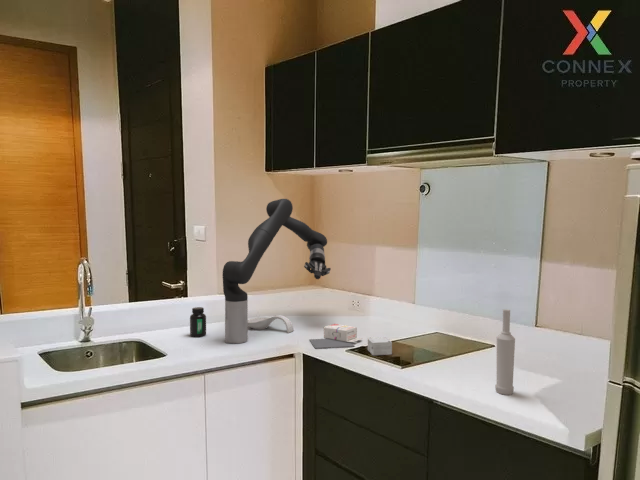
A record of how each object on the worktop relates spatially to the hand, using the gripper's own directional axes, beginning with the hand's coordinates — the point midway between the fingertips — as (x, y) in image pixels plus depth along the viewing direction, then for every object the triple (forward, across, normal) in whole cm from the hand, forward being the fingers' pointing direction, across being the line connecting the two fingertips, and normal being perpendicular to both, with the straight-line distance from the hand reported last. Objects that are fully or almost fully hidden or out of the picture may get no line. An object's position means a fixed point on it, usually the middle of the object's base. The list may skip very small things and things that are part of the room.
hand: (317, 277), depth 220 cm
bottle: (+79, +51, -23) cm, 97 cm away
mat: (+30, +9, +12) cm, 33 cm away
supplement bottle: (+18, -45, +32) cm, 58 cm away
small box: (+41, +25, +2) cm, 48 cm away
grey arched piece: (+7, -15, +29) cm, 33 cm away
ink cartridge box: (+19, +9, +13) cm, 25 cm away
